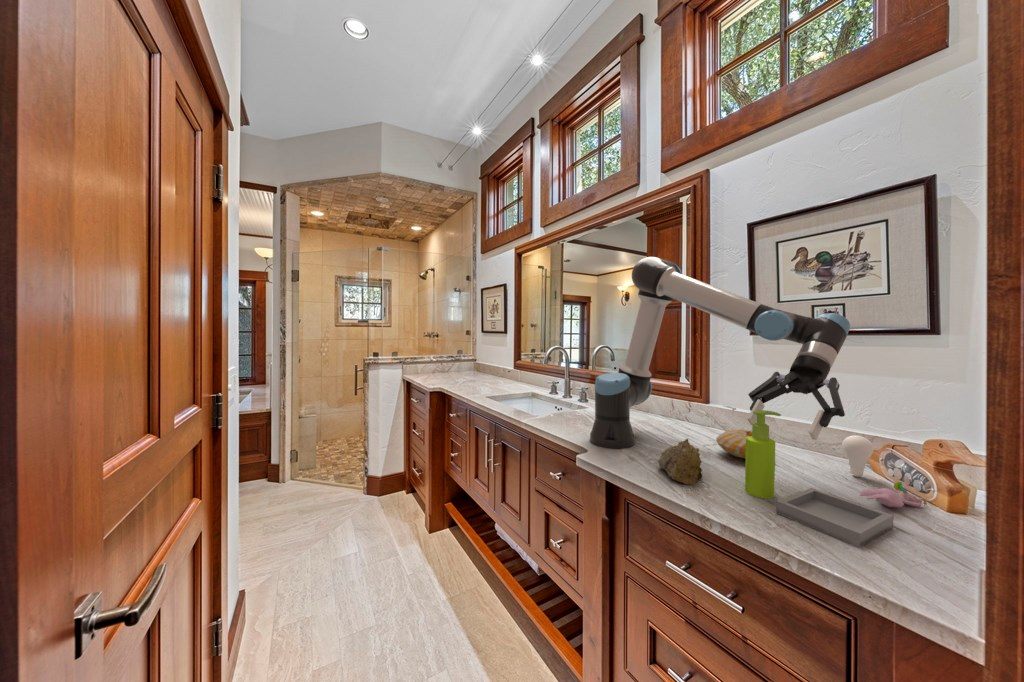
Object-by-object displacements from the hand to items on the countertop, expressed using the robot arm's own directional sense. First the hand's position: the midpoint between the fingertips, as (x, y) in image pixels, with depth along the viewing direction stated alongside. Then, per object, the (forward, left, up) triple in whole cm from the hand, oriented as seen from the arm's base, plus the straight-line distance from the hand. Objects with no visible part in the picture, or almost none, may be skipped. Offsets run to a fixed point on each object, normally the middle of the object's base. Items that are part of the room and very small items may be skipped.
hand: (779, 428), depth 90 cm
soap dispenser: (-1, -5, -16) cm, 16 cm away
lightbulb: (+5, +27, -16) cm, 32 cm away
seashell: (-18, -13, -16) cm, 27 cm away
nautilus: (-18, +18, -16) cm, 30 cm away
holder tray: (+13, -5, -15) cm, 21 cm away
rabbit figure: (+16, +14, -16) cm, 27 cm away
